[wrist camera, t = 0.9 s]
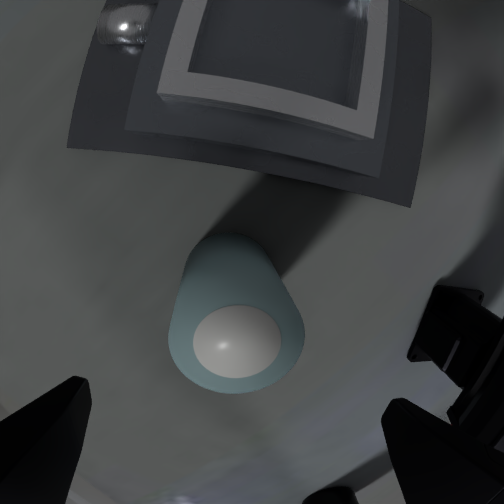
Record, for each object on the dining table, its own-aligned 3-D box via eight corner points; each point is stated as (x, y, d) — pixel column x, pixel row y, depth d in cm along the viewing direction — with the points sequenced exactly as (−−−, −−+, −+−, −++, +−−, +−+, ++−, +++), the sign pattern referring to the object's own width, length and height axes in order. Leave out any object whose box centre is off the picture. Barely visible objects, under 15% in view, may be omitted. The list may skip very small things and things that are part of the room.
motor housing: (424, 21, 14) (463, 2, 10) (403, 206, 17) (448, 220, 13) (135, -48, 11) (121, -87, 6) (72, 148, 14) (31, 146, 10)
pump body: (279, 239, 17) (320, 290, 10) (262, 318, 18) (286, 396, 12) (190, 226, 16) (174, 270, 10) (180, 308, 18) (165, 387, 11)
